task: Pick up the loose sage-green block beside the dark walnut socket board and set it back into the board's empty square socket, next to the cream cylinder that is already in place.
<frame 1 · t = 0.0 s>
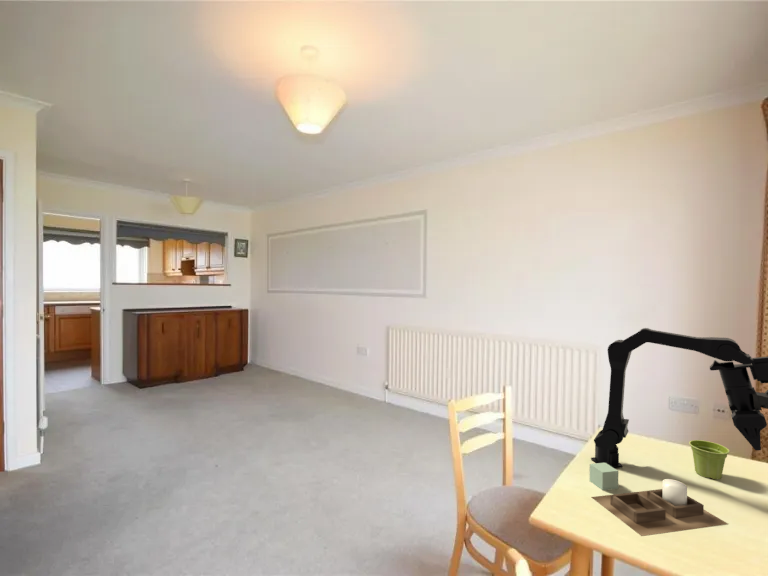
hand: (756, 444, 102), 15 cm above the table, tool pointing down, fingers open, 9 cm apart
plant pot: (708, 475, 117), on the table
cream cylinder: (674, 507, 99), point 1 cm above the table, touching socket board
sage block: (603, 488, 110), on the table
socket board: (655, 513, 98), on the table
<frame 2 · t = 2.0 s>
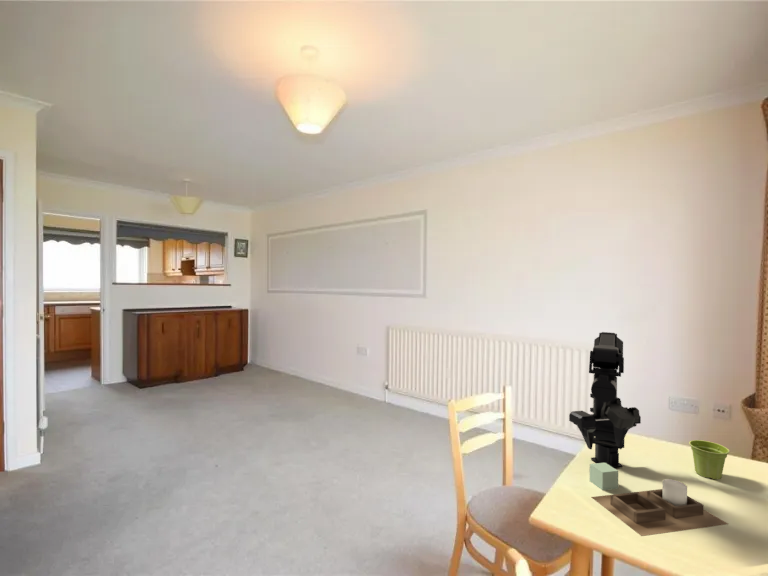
hand: (604, 447, 109), 12 cm above the table, tool pointing down, fingers open, 9 cm apart
nothing on the table moved.
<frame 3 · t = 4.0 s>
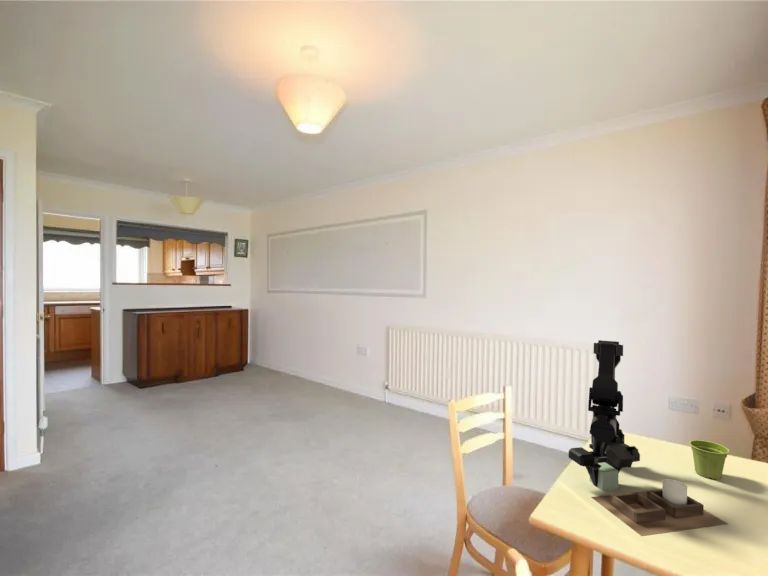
hand: (603, 484, 110), 1 cm above the table, tool pointing down, fingers closed on sage block, 5 cm apart
sage block: (603, 488, 110), on the table, touching gripper
everything else where it was.
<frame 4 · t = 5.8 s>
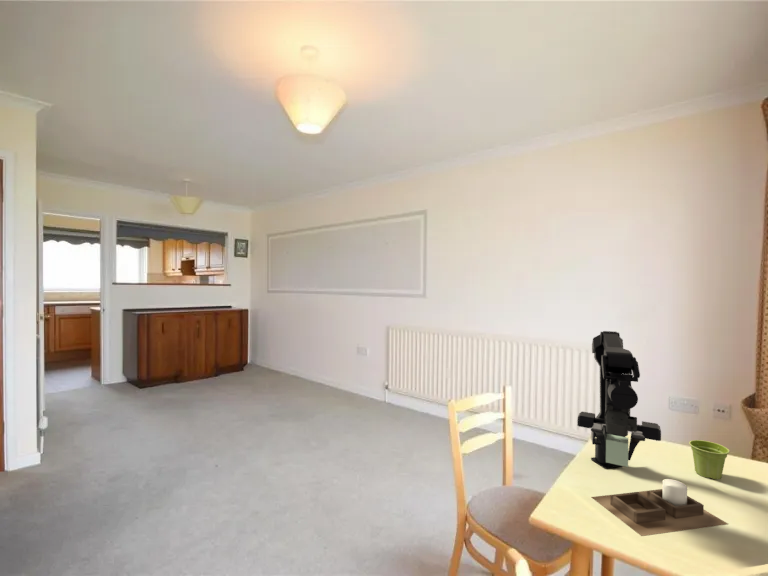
hand: (617, 457, 103), 11 cm above the table, tool pointing down, fingers closed on sage block, 5 cm apart
sage block: (617, 461, 103), point 10 cm above the table, touching gripper
everything else where it was.
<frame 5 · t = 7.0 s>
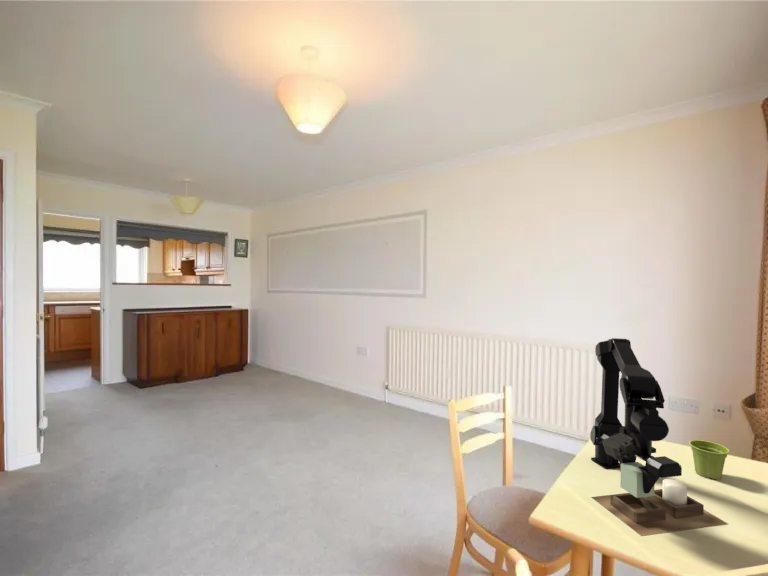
hand: (637, 487, 97), 7 cm above the table, tool pointing down, fingers closed on sage block, 5 cm apart
sage block: (637, 491, 97), point 6 cm above the table, touching gripper
everything else where it was.
when the fingers open (4 cm above the table, at t = 7.9 s): sage block drops 2 cm, resting on socket board.
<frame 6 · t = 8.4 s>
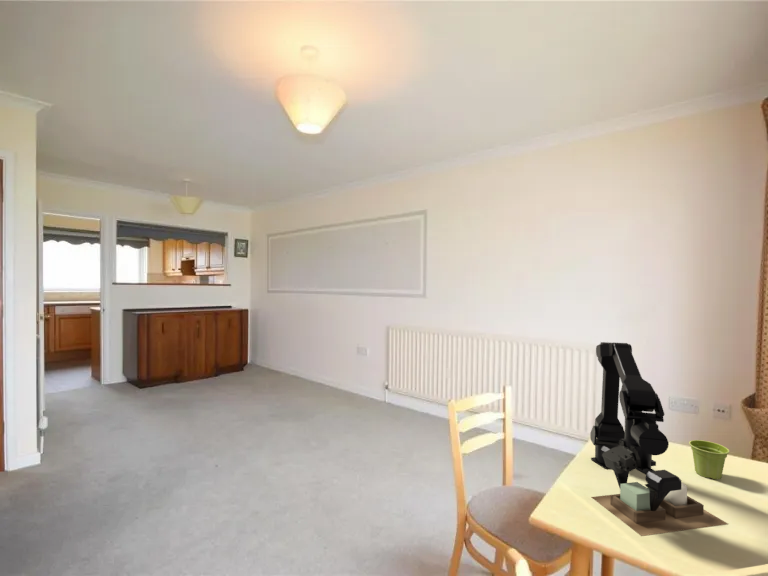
hand: (637, 500, 97), 4 cm above the table, tool pointing down, fingers open, 9 cm apart
sage block: (636, 511, 97), point 1 cm above the table, touching socket board
everything else where it was.
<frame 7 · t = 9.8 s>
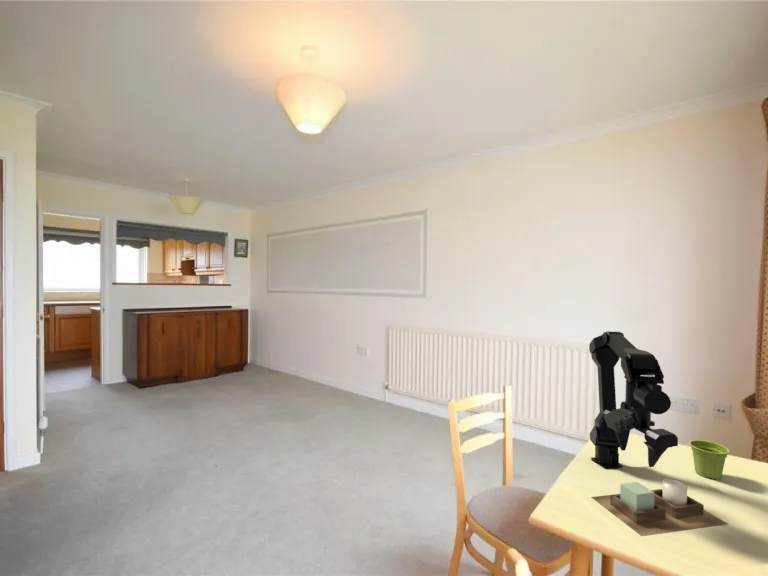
hand: (636, 458, 103), 11 cm above the table, tool pointing down, fingers open, 9 cm apart
nothing on the table moved.
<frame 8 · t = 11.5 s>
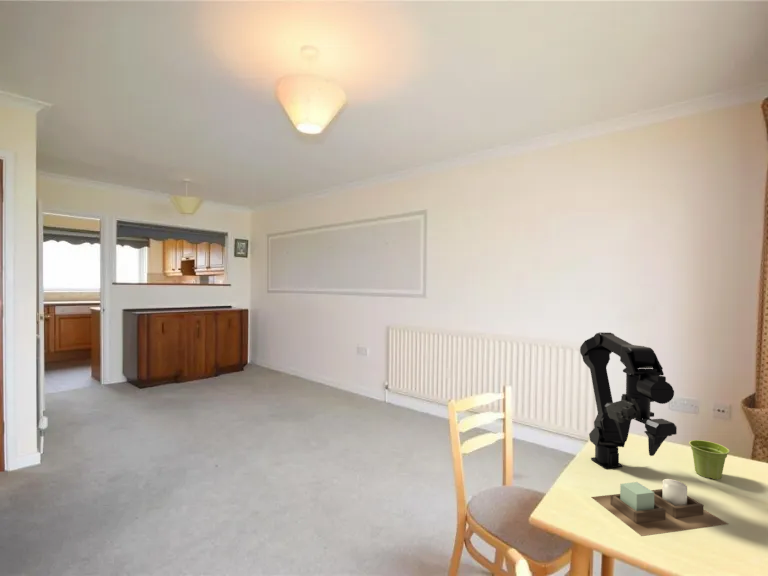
hand: (637, 448, 108), 12 cm above the table, tool pointing down, fingers open, 9 cm apart
nothing on the table moved.
at the end: sage block 0.1 cm from the target spot on the socket board, point 1.0 cm above the socket board's base; sage block tilted 0°; the gripper is holding nothing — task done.
